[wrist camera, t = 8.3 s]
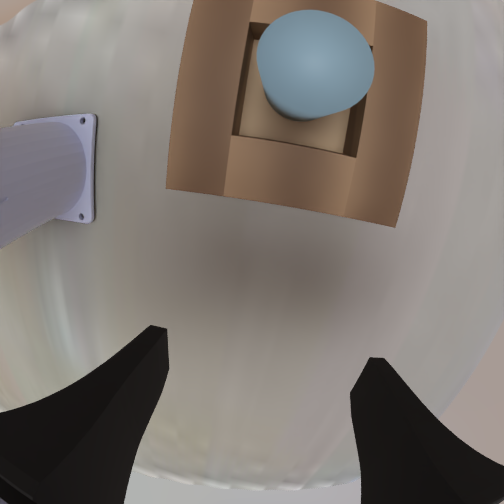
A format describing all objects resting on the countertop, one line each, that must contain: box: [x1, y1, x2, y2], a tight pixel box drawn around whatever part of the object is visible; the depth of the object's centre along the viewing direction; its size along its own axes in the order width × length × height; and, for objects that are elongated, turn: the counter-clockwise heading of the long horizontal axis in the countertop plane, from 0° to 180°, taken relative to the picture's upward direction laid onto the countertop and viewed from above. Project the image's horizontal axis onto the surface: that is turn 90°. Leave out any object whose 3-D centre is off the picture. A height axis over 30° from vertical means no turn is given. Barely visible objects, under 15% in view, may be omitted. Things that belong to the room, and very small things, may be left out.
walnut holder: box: [166, 0, 427, 228], centre depth 13 cm, size 12×12×4 cm
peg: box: [257, 10, 375, 122], centre depth 11 cm, size 4×4×7 cm
